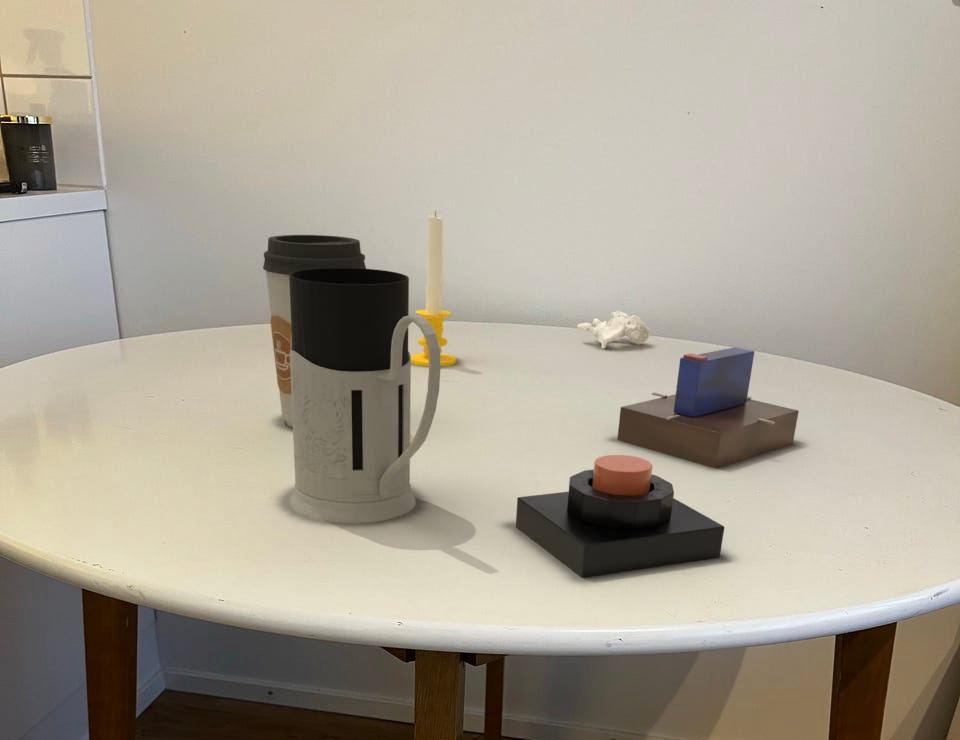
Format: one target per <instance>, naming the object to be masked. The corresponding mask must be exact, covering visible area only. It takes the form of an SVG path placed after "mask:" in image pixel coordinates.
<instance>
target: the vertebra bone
mask: <svg viewBox="0 0 960 740" xmlns="http://www.w3.org/2000/svg"><path fill="white" fill-rule="evenodd" d="M610 315H611V318H610V319H609V320H608V321H607V320H604V321H601V320H600V319H598V318H597V317H595V318H594V319H593V320H592V324H593V325H594V326H592V324H591V323H590V322H583V323H582V322H581V323H578V324H577V330H578V331H579V332H580V331H581V332H582V331H583V332H585V333H587V334H591V335H592V336H594V337H595V338H597V342H598V343H600V344H601V349H603V350H605V349H606V347H607V345H608V343H612V342H614V340H616V339H618V338H624V337H627V338H628V340H633V341H634V342H635V344H636V345H642V344H643V343H645V342H646V341H647V340H648V339H649V338H650V337H651V334H652V332H651V329H650V328H649V327H648V326H647V325H646V323H645V322H644V321H643V320H642V319H641V318H640V317H639V316H637V315H631V316H629V315H628V313H625V312H623V311H620V310H616V311H613V312H611V314H610Z"/></svg>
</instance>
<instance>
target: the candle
mask: <svg viewBox="0 0 960 740" xmlns="http://www.w3.org/2000/svg"><path fill="white" fill-rule="evenodd" d="M427 220H428V221H427V238H426V239H427V241H426V242H427V243H426V281H425V283H426V284H425V309H419V310H416V311H415V315H418V316H421V317H423V318H425V319H426V320H427V321H428V322H429V323H430V324H431V326H432V328H433V330H434V331H435V333H436V336H437V340H438V344H439V348H440V365H441V368H442V367H449V366H453V365H455V364H456V363H457V358H456V357H455V356H454V355H451V354H446V353H442V352H443V349H442V347H445V346H447V345H448V339H446V338H444V337H443V333H444V326H443V323H444V318H445V317H448V316H451V315H452V312H451V311H449V310H443V309H442V307H443V306H442V301H443V300H442V298H443V297H442V296H443V295H442V294H443V245H444V244H443V240H444V239H443V237H444V236H443V233H444V231H443V218H442V217H438V216H437V211H436V210H435V211H434V215H432V214H431V215H430V214H429V215H428V217H427ZM417 343H418V345H420V346H422V347H423V352H420V353H414V354H410V356H411V365H415V366H421V367H429V357H428V347H427V343H426V339H425V336H424V335H423V336H422V337H420V338H418V340H417Z"/></svg>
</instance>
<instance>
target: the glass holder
mask: <svg viewBox="0 0 960 740" xmlns="http://www.w3.org/2000/svg"><path fill="white" fill-rule="evenodd" d="M289 283H290V307H291V331H292V333H291V337H290V372H291V395H292V418H293V428H292V437H293V438H292V440H293V461H294V482H295V483H294V485H293V486H294V487H293V488H294V489H293V491H292V493H291V496H290V498H289V505H290V507H291V508H292V510H294V511H295V512H296V513H298V514H300V515H302V516H305V517H307V518H311V519H313V520H317V521H318V520H319V521H324V522H331V523H341V524H364V523H365V524H366V523H367V524H368V523H377V522H382V521H388V520H391V519H395V518H398V517H401V516H404V515H405V514H407V513H409V512H411V511H412V510H413V509H414V508H415V506H416V505H417V504H416V502H417V501H416V498H415V495H414V493H413V491H412V486H411V482H410V481H411V479H410V478H411V476H410V475H411V459H412V458H413V456H414V455H415V454H416V453H417V452H418V451H419V450H420V448H421V447H422V445H424V443H425V442H426V440H427V438H428V434H429V433H430V430H431V427H432V424H433V422H434V417H435V414H436V410H437V405H438V400H439V393H440V385H441V382H440V381H441V368H442V367H441V365H440V348H439V344H438V340H437V336H436V333H435V331H434V330H433V328H432V326H431V324H430V323H429V322H428V321H427V320H426V319H425V318H423V317H422V316H421V315H419V314H409V313H410V311H409V308H410V307H409V304H410V303H409V301H410V294H409V293H410V278H409V276H408V275H406V274H403V273H400V272H396V271H391V270H382V269H375V268H366V269H362V268H315V269H305V270H299V271H295V272H292V273H290V274H289ZM412 323H414V324H415V325H416V326H417V327H418V328H419V329H420V331H421V333H422V335H423V337H424V336H425V339H426V343H427V347H428V357H429V366H428V375H427V377H428V378H427V391H426V397H425V403H424V409H423V411H422V415H421V419H420V422H419V424H418V428H417V429H416V433H415V435H414V436H413V439H412V441H411V392H412V391H411V390H412V389H411V385H412V384H411V383H412V377H411V375H412V363H411V352H410V351H409V326H410V325H411V324H412Z"/></svg>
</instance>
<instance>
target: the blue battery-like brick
mask: <svg viewBox="0 0 960 740" xmlns="http://www.w3.org/2000/svg"><path fill="white" fill-rule="evenodd" d="M754 357H755V351H754V350H751V349H746V348H741V347H736V346H735V347H730V348H724V349H719V350H714V351H708V352H703V353H698V354H695V353H685V354H683V356H682V357H680V358H679V366H678V374H677V381H676V390H675V394H676V396H675V404H674V413H678V414H682V415H686V416H689V417H696V416H700V415H704V414H708V413H711V412H715V411H719V410H723V409H727V408H731V407H735V406H738V405H742V404H746V402H747V397H748V395H749V389H750V383H751V377H752V376H751V375H752V369H753V363H754Z"/></svg>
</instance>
